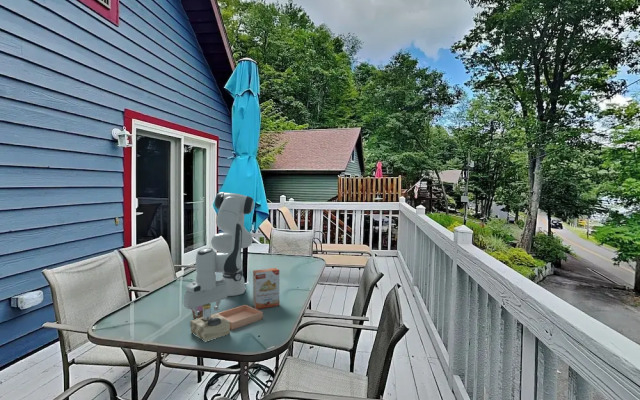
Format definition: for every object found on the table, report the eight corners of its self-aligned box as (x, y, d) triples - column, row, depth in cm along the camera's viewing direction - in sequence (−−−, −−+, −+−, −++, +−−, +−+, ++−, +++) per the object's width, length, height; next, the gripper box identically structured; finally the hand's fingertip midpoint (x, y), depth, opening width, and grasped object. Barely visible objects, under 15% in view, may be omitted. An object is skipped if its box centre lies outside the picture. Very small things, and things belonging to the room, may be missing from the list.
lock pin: (202, 331, 156) (201, 304, 156) (209, 329, 159) (208, 302, 158) (205, 334, 154) (204, 306, 153) (212, 331, 157) (211, 304, 156)
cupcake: (200, 313, 179) (200, 295, 178) (212, 316, 174) (211, 298, 174) (186, 319, 171) (186, 300, 170) (198, 322, 167) (197, 303, 166)
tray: (215, 320, 169) (215, 313, 169) (245, 310, 182) (245, 304, 182) (232, 329, 158) (232, 322, 158) (263, 318, 171) (262, 312, 171)
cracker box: (256, 310, 183) (255, 272, 182) (253, 306, 188) (252, 270, 187) (280, 305, 189) (279, 269, 188) (276, 302, 195) (275, 267, 194)
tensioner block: (191, 333, 155) (190, 317, 155) (214, 325, 164) (214, 310, 163) (205, 343, 145) (205, 326, 145) (229, 334, 154) (229, 318, 153)
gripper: (222, 277, 165) (223, 305, 166) (181, 287, 150) (182, 317, 151) (229, 280, 161) (230, 308, 161) (188, 290, 146) (188, 321, 147)
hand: (206, 312), depth 156 cm, fingers open, 8 cm apart
